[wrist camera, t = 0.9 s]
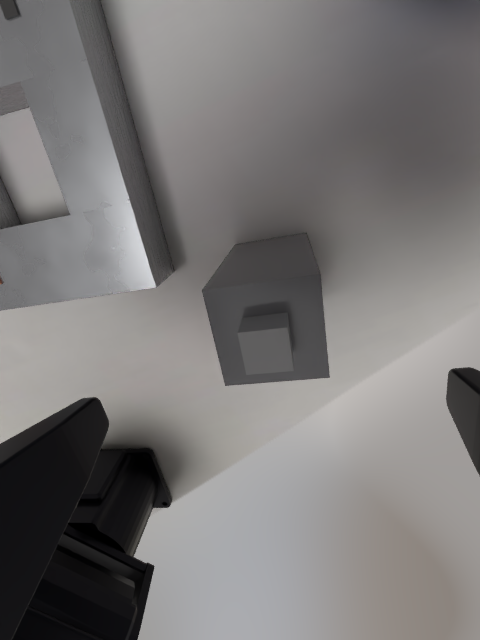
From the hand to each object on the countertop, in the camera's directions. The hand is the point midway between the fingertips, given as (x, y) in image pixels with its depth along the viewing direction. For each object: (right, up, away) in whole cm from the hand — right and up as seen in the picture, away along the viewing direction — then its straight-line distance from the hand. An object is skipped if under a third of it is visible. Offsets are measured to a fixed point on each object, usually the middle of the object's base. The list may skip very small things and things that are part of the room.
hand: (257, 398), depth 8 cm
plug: (+2, +5, +10) cm, 12 cm away
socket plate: (-12, +11, +10) cm, 18 cm away
